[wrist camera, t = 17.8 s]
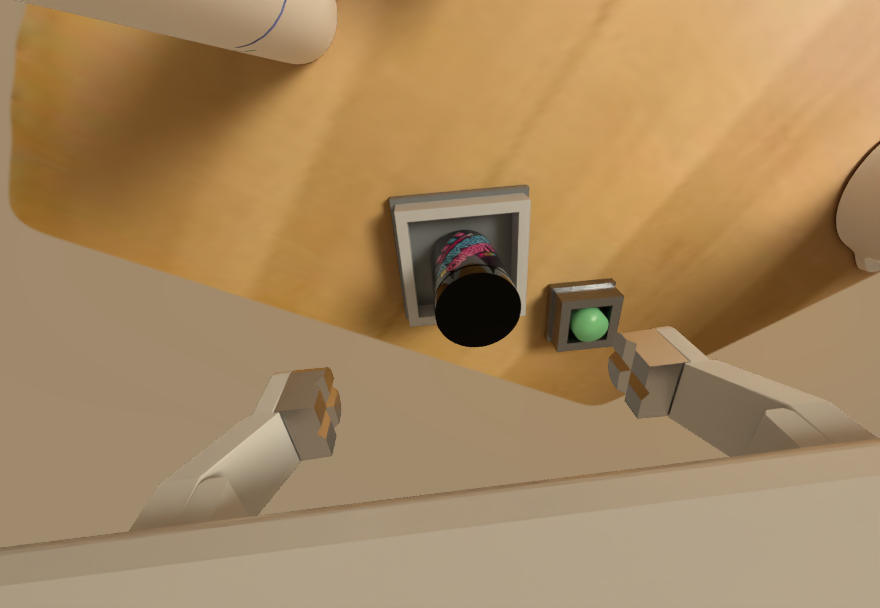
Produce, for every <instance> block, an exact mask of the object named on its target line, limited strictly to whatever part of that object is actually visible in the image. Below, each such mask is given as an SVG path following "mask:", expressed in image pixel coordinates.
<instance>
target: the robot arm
mask: <svg viewBox="0 0 880 608" xmlns="http://www.w3.org/2000/svg"><path fill="white" fill-rule="evenodd" d="M836 227H837V232H838V235H839V237H840V239H841V240H842V242H843V243H844V244H845V245H847V246H848V247H849V248H850V249H852V251H853V252H854V253H855V259H856V264H857V267H858V268H859V269H860V270H864V271H867V272H877V271H880V145H879V146H877V147H876V148H875V149H874V150H873V151H872V152H871V154H870V155H869V156H868V157H867V158H866V159H865V160H864V161H863V163H862V164H861V165H860V166H859V168H858V169H857V170H856V172H855V173H854V175H853V176H852V178H851V179H850V181H849V183H848V185H847V186H846V188H845V190H844V192H843V195H842V197H841V200H840V202H839V206H838V210H837V215H836ZM611 345H612V346H613V348H614V349H615V350H616V351H615V352H614V353H613V354H612V355H611V356H610V357H609V363H608V369H609V376H610V378H611V381H612V383H613V384H614V386H615V387H616V389H617V390H619V391H621V392H623V393H625V394H626V397H625V402H626V403H627V405H628V406H629V408H630V409H631V410H632V412H633V413H634V415H635V416H636V417H637V419H638V418H648V417H660V416H669V418H671V419H672V420H674V421H676V422H677V423H679V424H680V425H682V426H683V427H685V428H687V429H688V430H689V431H691V432H693V433H694V434H695V435H697V436H699V437H700V438H702V439H703V440H705V441H706V442H708V443H709V444H711V445H712V446H714V447H716V448H717V449H719V450H720V451H722V452H723V453H725V454H727V455H728V456H729V457H725V458H717V459H709V460H701V461H693V462H685V463H677V464H669V465H661V466H653V467H645V468H637V469H629V470H621V471H613V472H604V473H596V474H588V475H580V476H572V477H564V478H556V479H548V480H540V481H532V482H524V483H516V484H507V485H500V486H492V487H484V488H475V489H467V490H460V491H451V492H444V493H436V494H427V495H420V496H412V497H403V498H395V499H387V500H379V501H372V502H363V503H355V504H347V505H339V506H331V507H323V508H315V509H308V510H300V511H291V512H283V513H275V514H267V515H260V516H257V515H258V514H259V513H260V511H261V510H262V509H263V508H264V507H265V505H266V504H267V503H268V502H269V501H270V499H271V498H272V497H273V496H274V494H275V493H276V492H277V491H278V490H279V488H280V487H281V486H282V485H283V483H284V482H285V481H286V480H287V478H288V477H289V476H290V475H291V474H292V472H293V471H294V470H295V469H296V467H297V466H298V465H299V464H300V461H302V460H309V459H316V458H322V457H329V456H332V454H333V449H334V445H335V440H336V433H335V431H334V428H335V426H337V424H339V421H340V416H341V402H340V396H339V393H338V390H337V389H335V388H334V387H333V386H332V384H333V380H334V377H333V374H332V371H331V369H329V368H328V367H326V368H316V369H305V370H296V371H287V372H278V373H275V374H273V375H272V376H271V378H270V380H269V383H268V384H267V386H266V388H265V391H264V393H263V395H262V397H261V399H260V401H259V403H258V405H257V407H256V409H255V411H254V413H253V415H252V416H246V417H245V418H244V419H242V420H241V421H240V422H238V423H237V424H236V425H235V426H233V427H232V428H231V429H229V430H228V431H227V432H225V433H224V434H223V435H222V436H220V437H219V438H218V439H216V440H215V441H214V442H212V443H211V444H210V445H209V446H207V447H206V448H205V449H203V450H202V451H201V452H199V453H198V454H197V455H196V456H194V457H193V458H192V459H190V460H189V461H188V462H186V463H185V464H184V465H183V466H181V467H180V468H179V469H178V470H176V471H175V472H174V473H172V474H171V475H170V476H168V477H167V478H166V479H165V480H163V481H162V482H161V483H160V484H159V485H158V487H157V488H156V490H155V492H154V493H153V495H152V496H151V498H150V499H149V501H148V502H147V504H146V505H145V507H144V508H143V510H142V512H141V513H140V515H139V516H138V518H137V519H136V521H135V523H134V524H133V526H132V527H131V529H130V530H129V532H124V533H123V532H122V533H114V534H106V535H98V536H91V537H82V538H74V539H66V540H59V541H50V542H42V543H35V544H27V545H19V546H10V547H2V548H0V608H880V438H877V437H876V436H874V435H873V434H872V433H871V432H869V431H868V430H866V429H865V428H864V427H862V426H861V425H860V424H858V423H857V422H855V421H854V420H853V419H852V418H850V417H849V416H848V415H846V414H845V413H843V412H842V411H841V410H839V409H838V408H837V407H835V406H834V405H833V404H831V403H830V402H829V401H826V400H823V399H821V398H818V397H815V396H812V395H810V394H807V393H805V392H802V391H799V390H796V389H794V388H791V387H789V386H786V385H783V384H781V383H778V382H775V381H772V380H770V379H767V378H765V377H762V376H759V375H757V374H754V373H751V372H749V371H746V370H743V369H741V368H738V367H735V366H733V365H730V364H727V363H724V362H722V361H719V360H716V359H715V360H710V359H709V358H708V357H706V356H705V355H704V354H703V353H702V352H701V351H700V350H699V349H697V348H696V347H695V346H694V345H693V344H692V343H691V342H689V341H688V340H687V339H686V338H685V337H684V336H683V335H682V334H680V333H679V332H678V331H677V330H676V329H675V328H673V327H671V326H663V327H656V328H651V329H645V330H637V331H629V332H621V333H615V335H614V337H613V339H612V344H611Z"/></svg>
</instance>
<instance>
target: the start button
mask: <svg viewBox="0 0 880 608" xmlns="http://www.w3.org/2000/svg"><path fill="white" fill-rule="evenodd" d="M608 325H609V323H608V320H607V318H606V317H605V316H604V314H603V313H602V312H601V311H600V310H599V309H598V308H597V307H592V308H581V309H571V315H570V323H569V327H570V328H571V330H572V331H573V333H574V334H575V336H576V337H577V338H578V339H579V340H581V341H584V342H592V341H595V340H597V339H599V338H601V337H602V336H603V335H604V334H605V333H606V331H607V329H608Z"/></svg>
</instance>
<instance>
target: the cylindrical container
mask: <svg viewBox="0 0 880 608" xmlns="http://www.w3.org/2000/svg"><path fill="white" fill-rule="evenodd" d="M16 1H20V2H24V3H29V4H33V5H37V6H42V7H46V8H50V9H55V10H59V11H63V12H68V13H72V14H76V15H81V16H85V17H89V18H94V19H98V20H102V21H107V22H111V23H115V24H120V25H124V26H128V27H133V28H137V29H142V30H146V31H150V32H155V33H159V34H163V35H168V36H172V37H176V38H181V39H185V40H189V41H194V42H198V43H202V44H207V45H211V46H215V47H220V48H224V49H228V50H233V51H237V52H241V53H246V54H250V55H254V56H259V57H263V58H267V59H271V60H276V61H280V62H284V63H290V64H306V63H309V62H313V61H314V60H316V59H318V58H319V57H321V56H322V55H323V54H324V53H325V52H326V51H327V49H328V48H329V46H330V45H331V43H332V40H333V38H334V35H335V32H336V26H337V5H336V0H16Z"/></svg>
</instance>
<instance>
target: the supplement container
mask: <svg viewBox="0 0 880 608" xmlns="http://www.w3.org/2000/svg"><path fill="white" fill-rule="evenodd" d="M430 268H431V278H432V287H433V297H434V302H433V303H434V311H435V319H436V323H437V326H438V328H439V329H440V331H441V332H442V334H443V335H444V336H445V337H446V338H448V339H449V340H450V341H452V342H454V343H456V344H458V345H462V346H466V347H482V346H487V345H491V344H493V343H496V342H498V341H499V340H501V339H503V338H504V337H505V336H507V335H508V334H509V333H510V332H511V331H512V330H513V328H514V327H515V326H516V324H517V322H518V320H519V317H520V314H521V299H520V296H519V293H518V291H517V290H516V288H515V285H514V283H513V281H512V280H511V278H510V277H509V275H508V273H507V271H506V269H505V268H504V266H503V264H502V262H501V260H500V258H499V256H498V254H497V252H496V250H495V248H494V247H493V245H492V243H491V242H490V240H489V239H488V238H487V237H485V236H484V235H483V234H481V233H479V232H476V231H473V230H457V231H454V232H451V233H449V234H447V235H445V236H444V237H443V238H441V239H440V240H439V241H438V242H437V244H436V245H435V247H434V248H433V251H432V253H431V258H430Z"/></svg>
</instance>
